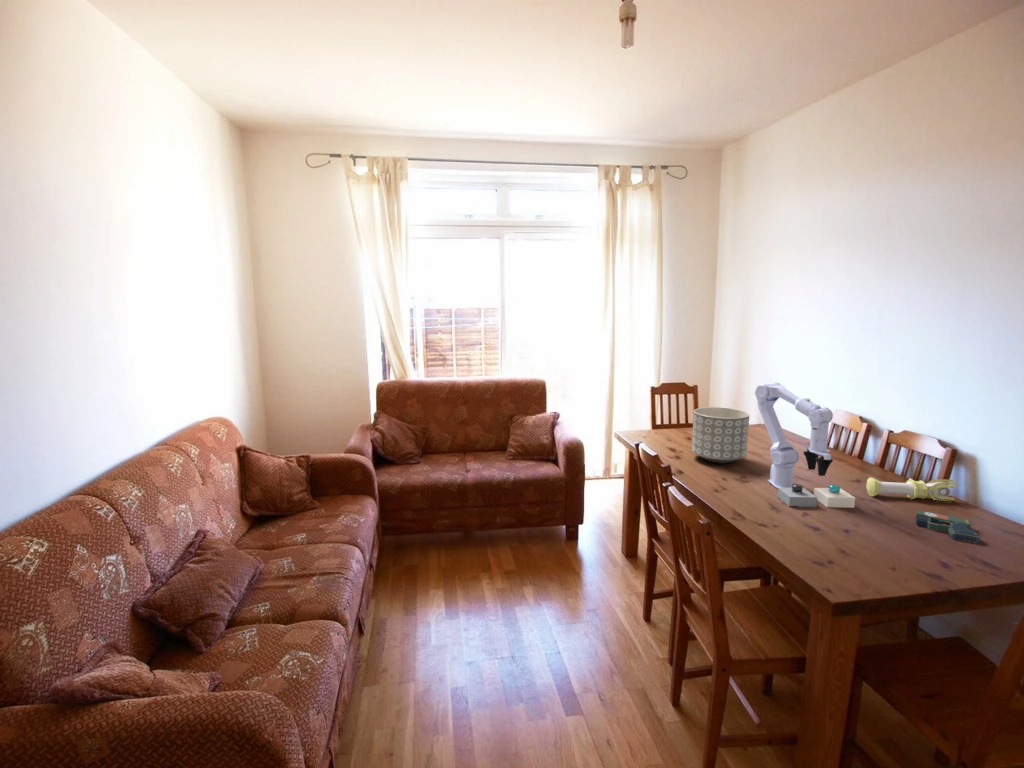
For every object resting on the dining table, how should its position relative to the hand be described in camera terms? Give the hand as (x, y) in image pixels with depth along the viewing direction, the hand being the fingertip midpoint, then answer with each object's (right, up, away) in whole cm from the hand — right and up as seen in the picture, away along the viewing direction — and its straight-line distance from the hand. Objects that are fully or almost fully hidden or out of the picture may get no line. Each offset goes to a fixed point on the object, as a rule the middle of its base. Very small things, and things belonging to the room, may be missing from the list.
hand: (816, 472), depth 203 cm
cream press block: (+5, -11, -3) cm, 12 cm away
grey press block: (-9, -11, -2) cm, 15 cm away
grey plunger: (-9, -11, -2) cm, 14 cm away
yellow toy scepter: (+37, -11, +1) cm, 39 cm away
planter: (-18, -3, +51) cm, 54 cm away
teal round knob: (+5, -11, -3) cm, 12 cm away
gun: (+28, -16, -28) cm, 42 cm away
